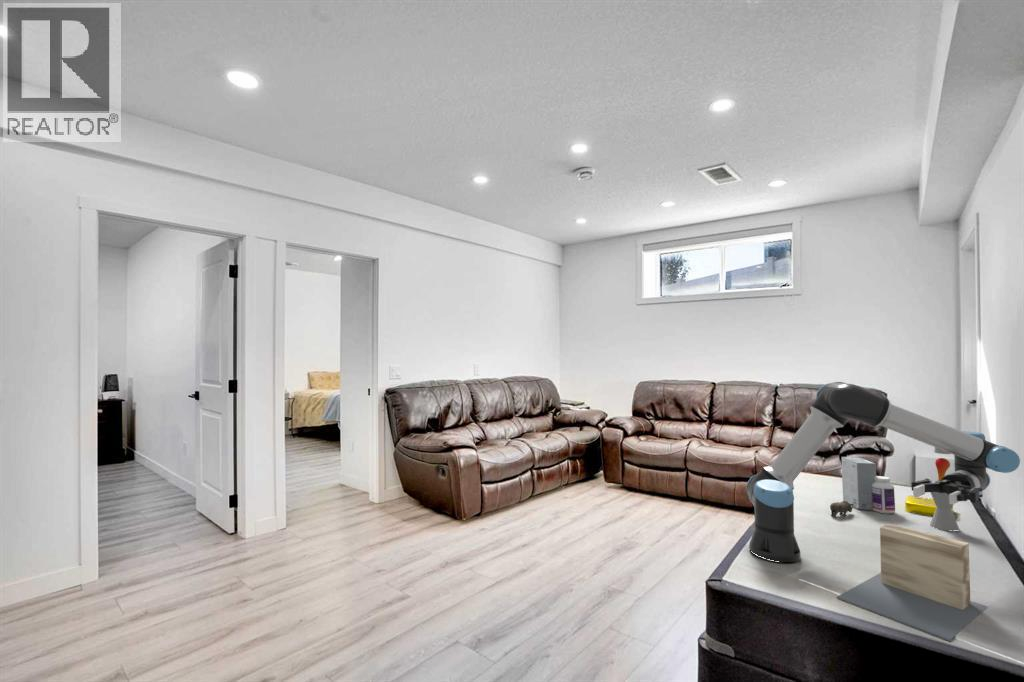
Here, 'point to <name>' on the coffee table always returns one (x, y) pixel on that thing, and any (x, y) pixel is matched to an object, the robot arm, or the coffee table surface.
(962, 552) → the birch slab
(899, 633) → the coffee table surface
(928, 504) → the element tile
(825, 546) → the coffee table surface
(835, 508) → the bison figurine
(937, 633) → the slate mat
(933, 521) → the lava lamp
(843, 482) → the hard drive box
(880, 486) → the pill bottle
